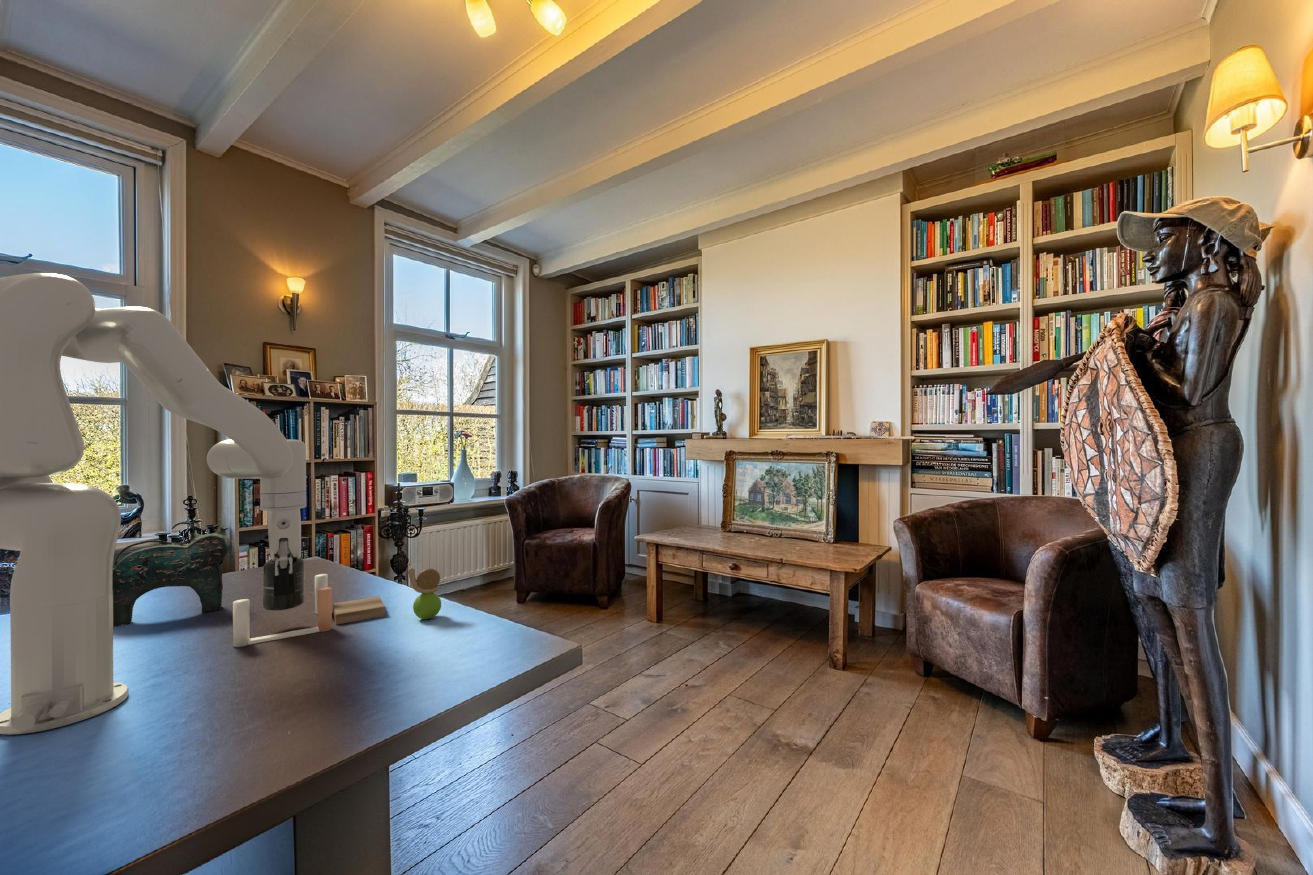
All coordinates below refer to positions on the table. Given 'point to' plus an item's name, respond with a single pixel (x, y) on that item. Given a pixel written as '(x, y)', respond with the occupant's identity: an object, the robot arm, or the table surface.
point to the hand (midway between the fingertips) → (284, 589)
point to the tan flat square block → (358, 610)
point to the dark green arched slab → (170, 571)
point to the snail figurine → (425, 592)
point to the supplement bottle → (285, 600)
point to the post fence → (324, 624)
